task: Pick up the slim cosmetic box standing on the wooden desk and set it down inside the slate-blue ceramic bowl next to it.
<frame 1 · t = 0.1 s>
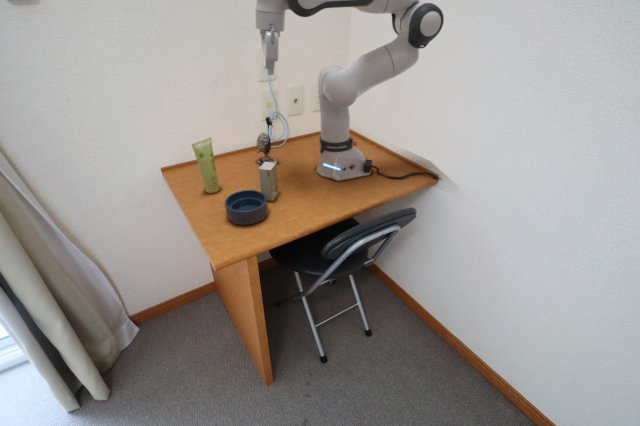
hand: (269, 71, 105), 39 cm above the table, tool pointing down, fingers open, 8 cm apart
cosmetic box: (270, 196, 113), on the table
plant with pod: (266, 162, 137), on the table
tube: (212, 190, 116), on the table
bowl: (248, 214, 104), on the table
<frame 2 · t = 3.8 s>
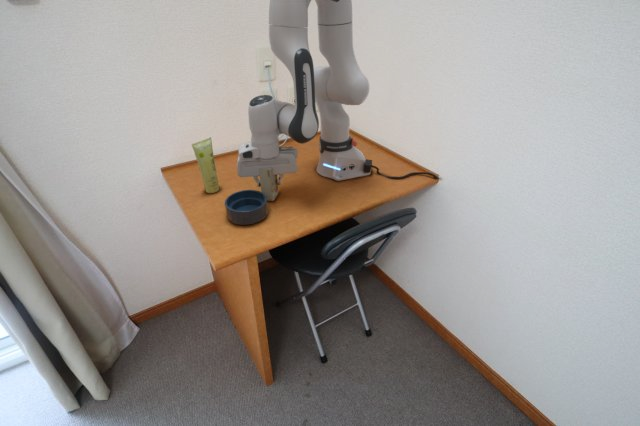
hand: (269, 185, 111), 5 cm above the table, tool pointing down, fingers closed on cosmetic box, 5 cm apart
cosmetic box: (270, 196, 113), on the table, touching gripper
everything else where it was.
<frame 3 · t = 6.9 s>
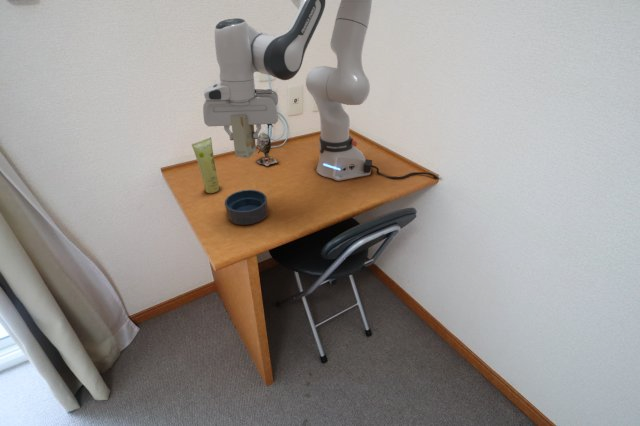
hand: (244, 139, 92), 25 cm above the table, tool pointing down, fingers closed on cosmetic box, 5 cm apart
cosmetic box: (246, 154, 95), point 20 cm above the table, touching gripper
everything else where it was.
when the fingers open (5 cm above the table, at t = 10.4 s): cosmetic box stays where it is, resting on bowl.
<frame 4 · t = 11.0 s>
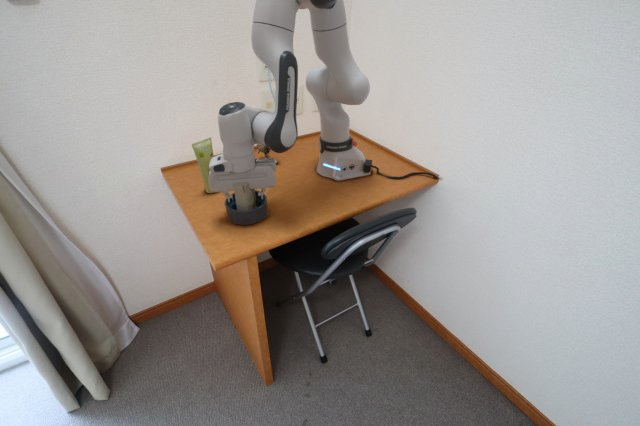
hand: (246, 199, 101), 6 cm above the table, tool pointing down, fingers open, 8 cm apart
cosmetic box: (248, 213, 104), resting on bowl
everything else where it was.
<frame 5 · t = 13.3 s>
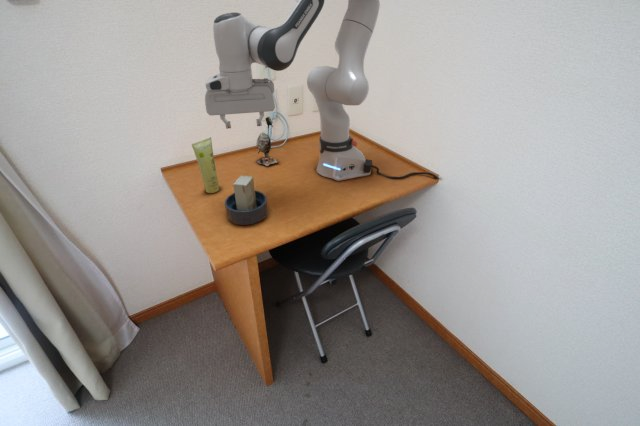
hand: (244, 126, 98), 26 cm above the table, tool pointing down, fingers open, 8 cm apart
nothing on the table moved.
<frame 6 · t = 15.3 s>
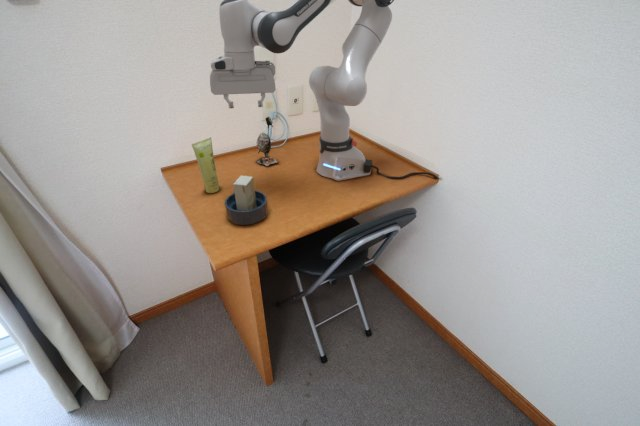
hand: (246, 107, 104), 29 cm above the table, tool pointing down, fingers open, 8 cm apart
nothing on the table moved.
at the end: cosmetic box inside the target area in the bowl (0.1 cm from its centre), point 0.4 cm above the bowl's base; the gripper is holding nothing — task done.
